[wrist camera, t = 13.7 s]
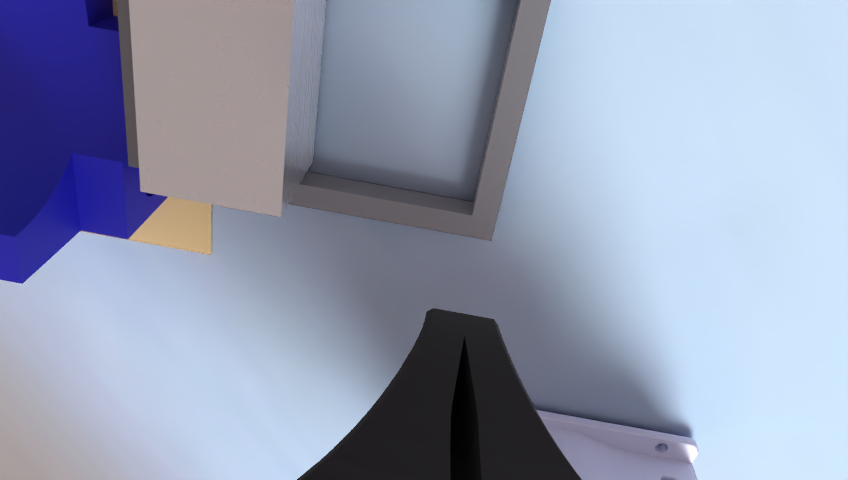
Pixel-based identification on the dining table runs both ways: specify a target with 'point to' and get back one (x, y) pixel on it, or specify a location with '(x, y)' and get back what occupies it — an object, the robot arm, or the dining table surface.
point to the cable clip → (62, 132)
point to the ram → (221, 97)
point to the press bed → (193, 220)
